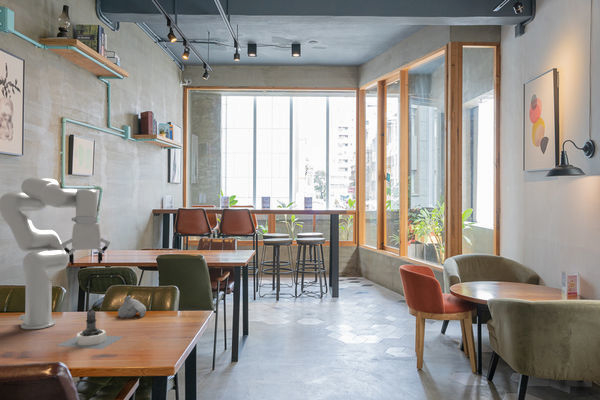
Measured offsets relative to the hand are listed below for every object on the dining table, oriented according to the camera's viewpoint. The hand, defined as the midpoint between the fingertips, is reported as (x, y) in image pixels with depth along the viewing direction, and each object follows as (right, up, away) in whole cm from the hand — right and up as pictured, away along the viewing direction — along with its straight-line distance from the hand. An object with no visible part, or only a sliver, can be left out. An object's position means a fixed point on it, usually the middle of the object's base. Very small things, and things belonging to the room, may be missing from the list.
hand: (85, 263), depth 174 cm
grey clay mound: (+7, -29, +30) cm, 42 cm away
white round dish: (+7, -27, -10) cm, 30 cm away
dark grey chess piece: (+7, -27, -11) cm, 30 cm away
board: (+7, -28, -10) cm, 31 cm away
